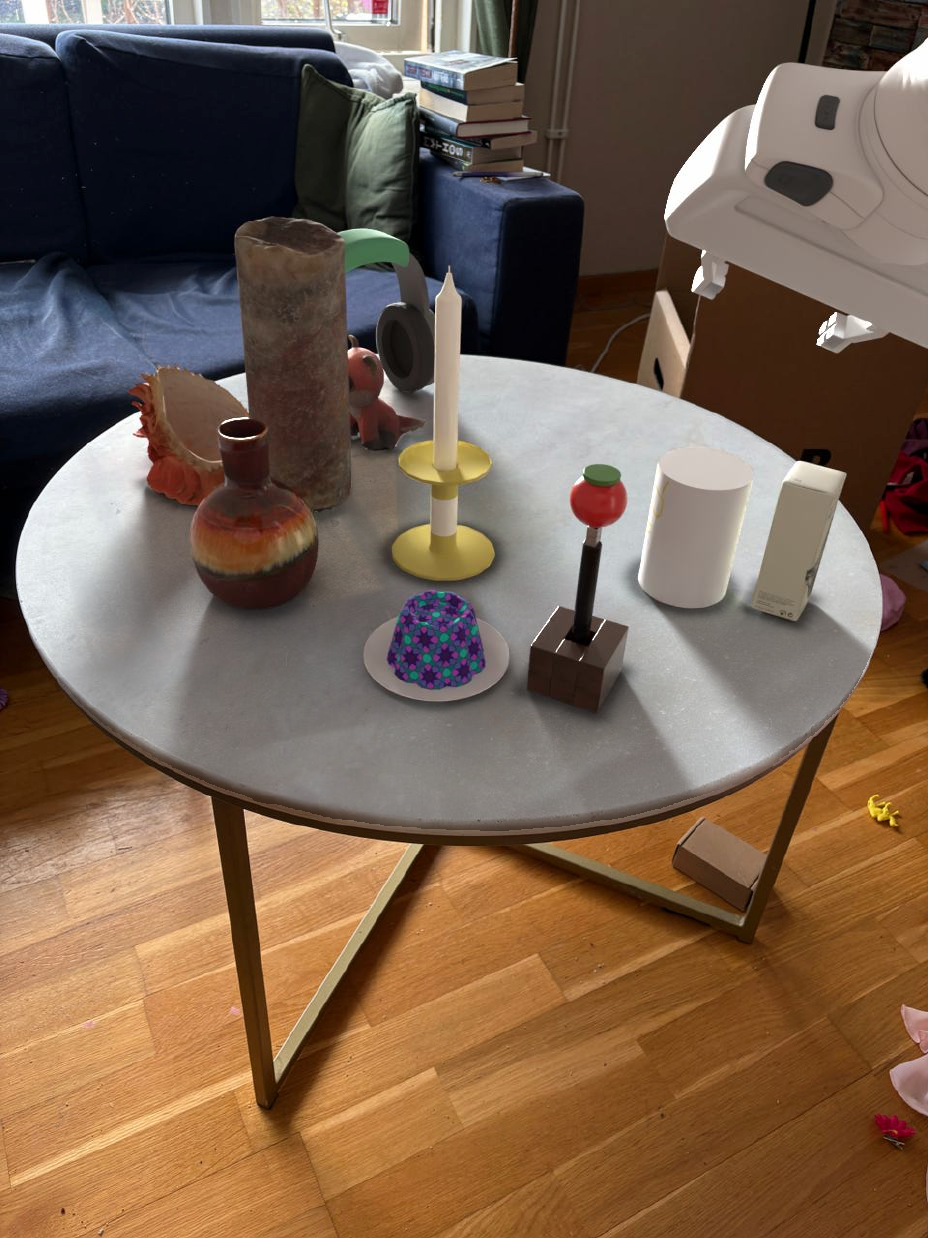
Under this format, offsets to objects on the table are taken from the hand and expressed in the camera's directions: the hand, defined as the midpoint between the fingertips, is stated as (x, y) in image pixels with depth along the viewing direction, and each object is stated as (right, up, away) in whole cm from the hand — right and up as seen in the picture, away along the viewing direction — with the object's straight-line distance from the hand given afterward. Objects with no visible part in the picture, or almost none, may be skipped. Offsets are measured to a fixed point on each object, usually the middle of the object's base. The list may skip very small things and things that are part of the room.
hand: (766, 314), depth 63 cm
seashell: (-48, -4, +41) cm, 63 cm away
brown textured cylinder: (-37, -8, +35) cm, 52 cm away
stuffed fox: (-30, 0, +47) cm, 56 cm away
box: (+9, -19, +23) cm, 31 cm away
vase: (-39, -17, +23) cm, 48 cm away
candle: (-22, -14, +28) cm, 39 cm away
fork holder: (-11, -25, +13) cm, 31 cm away
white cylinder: (0, -17, +25) cm, 31 cm away
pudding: (-22, -24, +15) cm, 36 cm away
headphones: (-32, +8, +57) cm, 66 cm away
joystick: (-11, -25, +13) cm, 31 cm away
